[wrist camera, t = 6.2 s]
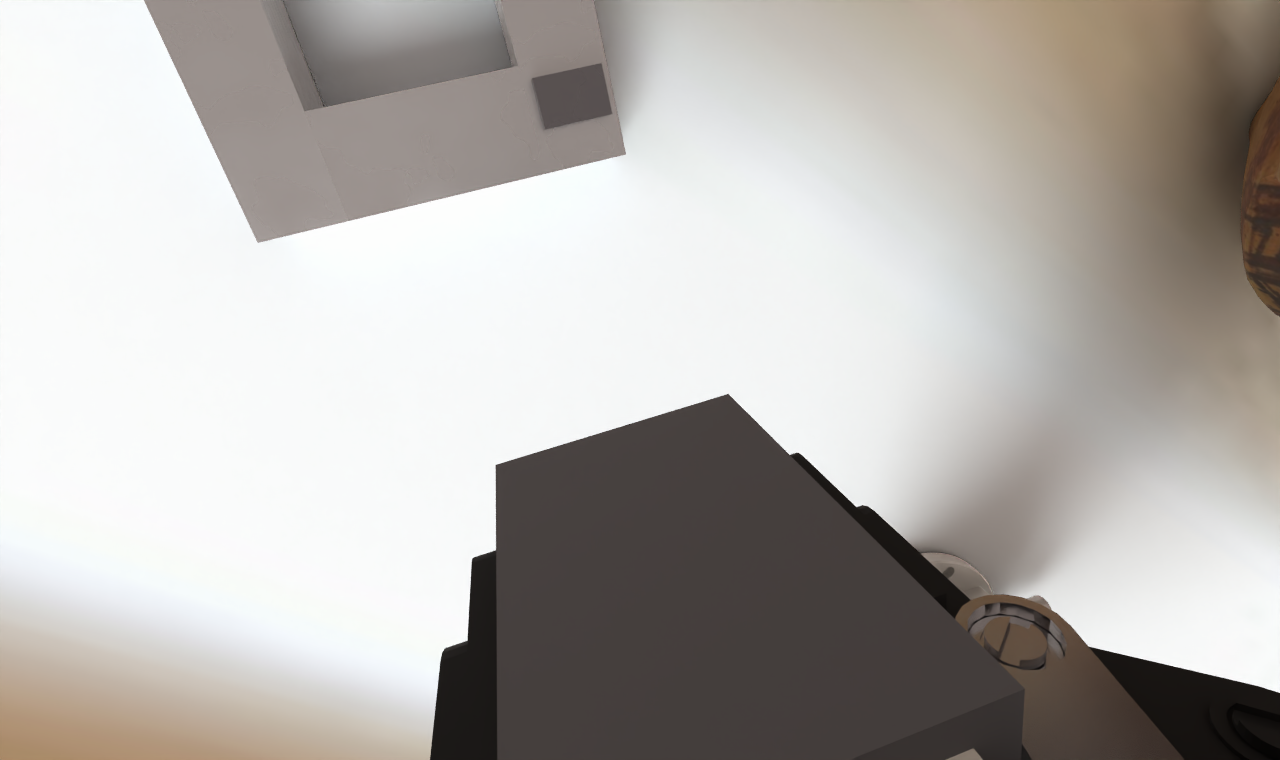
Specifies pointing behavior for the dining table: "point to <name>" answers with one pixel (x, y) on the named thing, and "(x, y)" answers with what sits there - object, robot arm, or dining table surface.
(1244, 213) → the vase
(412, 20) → the dining table surface
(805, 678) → the plug
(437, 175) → the socket plate
